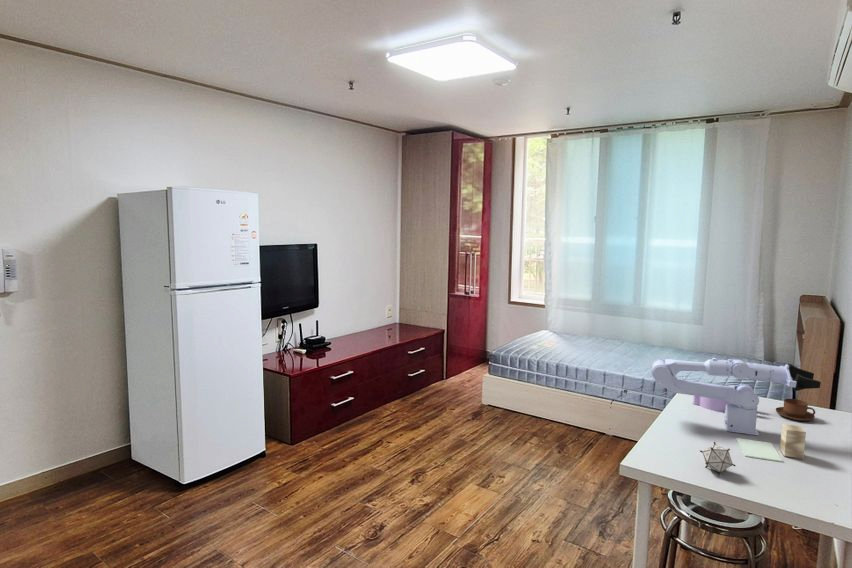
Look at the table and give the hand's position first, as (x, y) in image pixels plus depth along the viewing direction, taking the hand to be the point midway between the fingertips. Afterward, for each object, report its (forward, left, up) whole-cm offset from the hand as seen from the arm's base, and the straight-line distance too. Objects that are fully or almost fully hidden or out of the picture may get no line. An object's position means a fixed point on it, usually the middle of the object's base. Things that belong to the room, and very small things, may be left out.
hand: (816, 380), depth 168 cm
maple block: (-10, -16, -21) cm, 28 cm away
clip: (-23, +24, -21) cm, 39 cm away
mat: (-19, -16, -21) cm, 33 cm away
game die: (-34, -37, -21) cm, 55 cm away
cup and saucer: (+1, +23, -21) cm, 31 cm away
